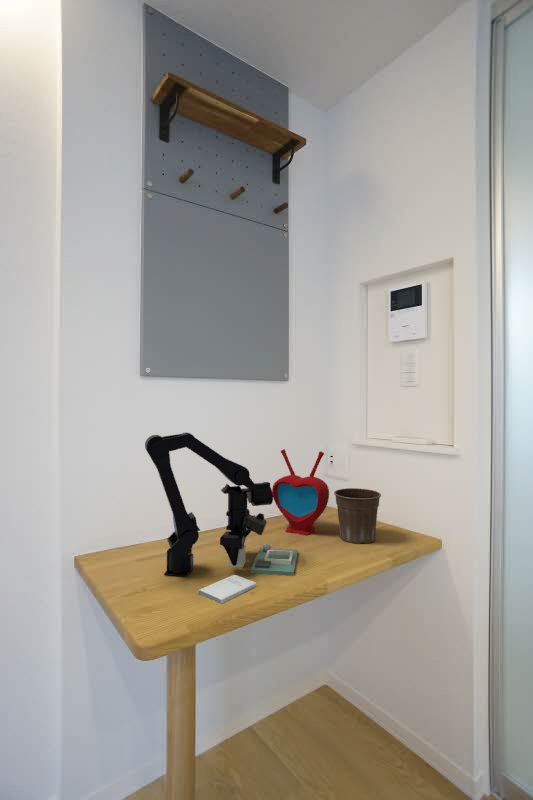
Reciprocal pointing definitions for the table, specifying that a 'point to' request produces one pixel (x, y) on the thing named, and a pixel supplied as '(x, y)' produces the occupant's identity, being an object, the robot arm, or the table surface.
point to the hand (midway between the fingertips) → (237, 560)
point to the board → (275, 561)
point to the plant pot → (357, 514)
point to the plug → (240, 557)
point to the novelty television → (301, 498)
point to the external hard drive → (227, 588)
